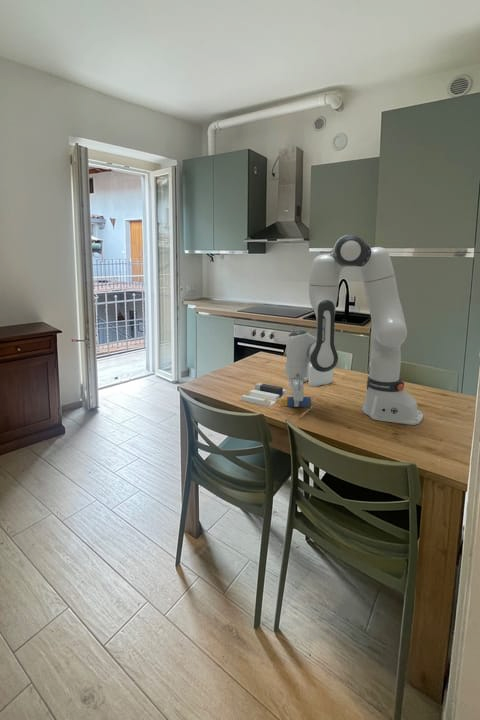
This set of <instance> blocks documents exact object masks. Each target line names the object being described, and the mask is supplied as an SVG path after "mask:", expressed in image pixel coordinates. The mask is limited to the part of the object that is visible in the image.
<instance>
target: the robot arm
mask: <svg viewBox="0 0 480 720" xmlns="http://www.w3.org/2000/svg"><path fill="white" fill-rule="evenodd" d="M346 267H358V268H359V270H360V272H361V277H362V281H363V285H364V286H363V287H364V292H365V296H366V302H367V306H368V310H369V315H370V319H371V334H370V361H369V371H368V372H369V373H368V376H367V379H366V395H365V399H364V403H363V406H362V408H361V411H362V412H363V413H364V414H365V415H367V416H369V417H370V418H371V419H372V420H374V421H380V422H388V423H395V424H403V425H410V426H415V425H418V424H421V422H422V421H423V419H424V414H423V412H422V411H421V410H419V409H418V402H417V400H416V398H414V397H413V396H412V395H411V394H410V393H408V392H407V391H406V390H405V380H402V379H401V378H400V374H401V363H402V351H401V345H403V343H404V342H405V341H406V339H407V336H408V328H407V325H406V324H407V323H406V319H405V315H404V311H403V307H402V303H401V300H400V294H399V291H398V284H397V279H396V274H395V269H394V265H393V262H392V259H391V257H390V253H389V252H388V250H387V249H386V248H384V247H382V246H375V247H370V246H369V245H368V244H367V243H366V242H365V240H363V238H361V237H360V236H358V235H356V234H345V235H343V236H341V237H340V238H338V239H337V241H336V242H335V244H334V246H333V247H332V250H331V251H330V252H329V253H324V254H319V255H317V256H316V257H314V259H313V260H312V263H311V268H310V273H309V282H308V296H309V297H308V298H309V303H310V305H311V307H312V310H313V311H314V314H315V315H314V316H315V318H316V336H314V335H312V334H310V333H309V332H308V331H306V330H297V331H292V332H290V334H289V335H288V336H287V339H286V345H285V346H286V348H285V356H286V361H285V373H284V375H285V376H286V377H287V378H288V383H289V384H288V385H289V387H290V391H291V394H292V396H291V397H293V399H294V406H293V407H295V408H298V407H300V406H299V401H303V397H304V382H303V380H304V378H305V377H307V376H308V363H309V362H311V364H312V366H313V368H314V369H316V370H317V371H320V372H327V371H330V370H332V369H333V368H335V367H336V366H337V365H338V362H339V361H338V360H339V354H338V352H337V349H336V346H335V319H336V318H335V316H336V309H337V302H338V297H339V288H340V287H339V286H340V275H341V272H342V270H343V269H344V268H346Z"/></svg>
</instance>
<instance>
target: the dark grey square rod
mask: <svg viewBox="0 0 480 720" xmlns="http://www.w3.org/2000/svg"><path fill="white" fill-rule="evenodd" d="M254 390H258V391H263V392H268V393H273V394H278V395H280V396H279V398H280V397H282V395H283V390H284V389H283V387H282V386H277V385H273V384H267V383H261V382H257V383H256V384H254Z"/></svg>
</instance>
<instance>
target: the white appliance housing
mask: <svg viewBox="0 0 480 720" xmlns="http://www.w3.org/2000/svg"><path fill="white" fill-rule="evenodd" d="M286 395H287V390H286V389H283V395H282V397H286ZM279 396H280V395H278V394H273V393H268V392H263V391H258V390H255V389H251V390H249V394H248V395H246V394H243V395H241V402H248V403H252V404H256V405H260V406H265V407H271V406H272V405H273V404H275V403H276V402H278V401H280V400H281V397H280V398H279Z"/></svg>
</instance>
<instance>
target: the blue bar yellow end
mask: <svg viewBox="0 0 480 720" xmlns="http://www.w3.org/2000/svg"><path fill="white" fill-rule="evenodd" d="M311 402H312V399H311V396H303V401H299V406H298V407H305V408H306V407H307V408H308V410H311V406H312V405H311V404H312V403H311ZM280 406H281V407H295V406H294V399H293V396H283V397H281V399H280Z"/></svg>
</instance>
